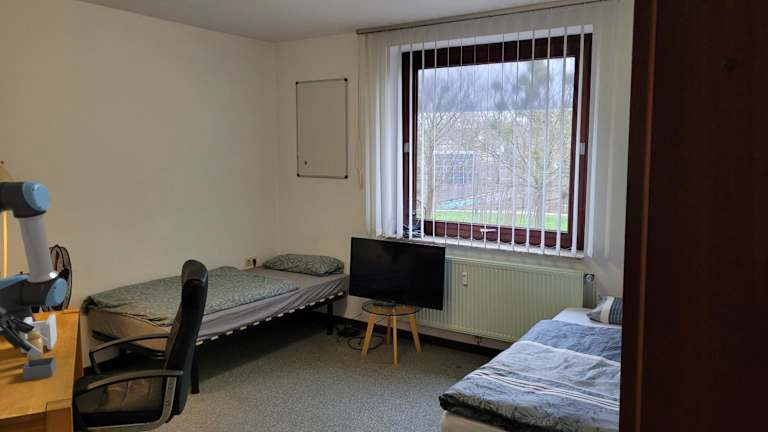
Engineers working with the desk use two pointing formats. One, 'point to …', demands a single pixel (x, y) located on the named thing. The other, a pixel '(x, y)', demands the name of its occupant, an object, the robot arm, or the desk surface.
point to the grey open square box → (39, 368)
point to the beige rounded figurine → (35, 343)
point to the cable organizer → (43, 330)
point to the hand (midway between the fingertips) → (42, 348)
